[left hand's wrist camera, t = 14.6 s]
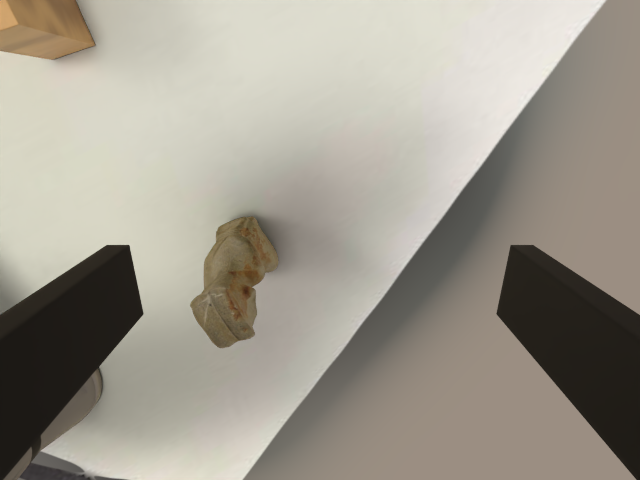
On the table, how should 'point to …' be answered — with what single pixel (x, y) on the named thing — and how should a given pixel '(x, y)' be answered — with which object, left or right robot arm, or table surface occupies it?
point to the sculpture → (233, 281)
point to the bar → (42, 28)
